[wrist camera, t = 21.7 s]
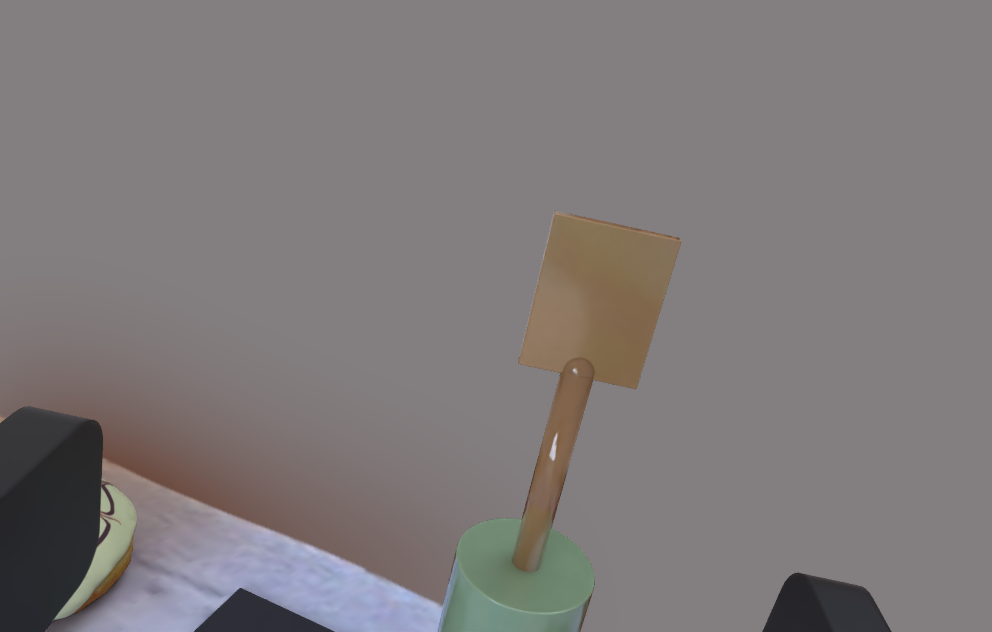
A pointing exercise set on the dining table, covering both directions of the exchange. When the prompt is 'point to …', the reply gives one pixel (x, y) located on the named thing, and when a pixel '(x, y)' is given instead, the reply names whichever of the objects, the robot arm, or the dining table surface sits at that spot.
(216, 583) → the dining table surface
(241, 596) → the mat
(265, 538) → the dining table surface
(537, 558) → the spatula crock
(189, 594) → the dining table surface
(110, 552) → the decorated donut
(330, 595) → the dining table surface
